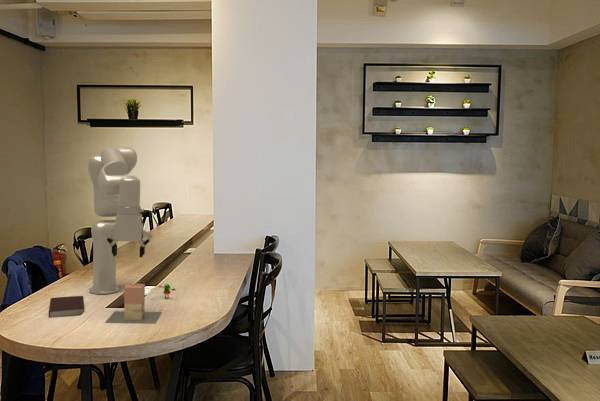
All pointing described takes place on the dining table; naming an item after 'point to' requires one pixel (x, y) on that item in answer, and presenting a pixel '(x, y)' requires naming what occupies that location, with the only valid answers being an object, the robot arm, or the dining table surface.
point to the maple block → (134, 311)
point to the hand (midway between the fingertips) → (128, 256)
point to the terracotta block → (134, 293)
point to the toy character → (166, 289)
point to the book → (66, 306)
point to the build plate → (147, 319)
